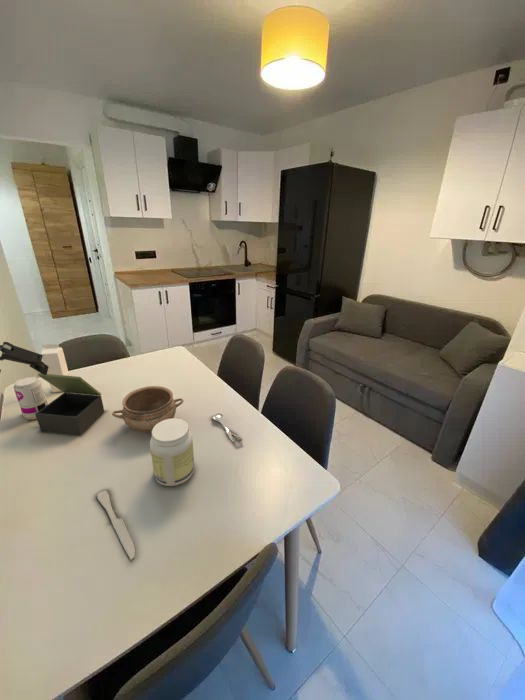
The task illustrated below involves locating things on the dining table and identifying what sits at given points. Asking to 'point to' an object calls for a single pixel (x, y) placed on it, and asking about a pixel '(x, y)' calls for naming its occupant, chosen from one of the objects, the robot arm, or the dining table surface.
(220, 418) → the silver spoon
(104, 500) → the butter knife
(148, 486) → the dining table surface
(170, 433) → the supplement tub
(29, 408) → the supplement can
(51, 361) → the milk
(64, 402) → the bin
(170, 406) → the cooking pot
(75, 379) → the bin lid
